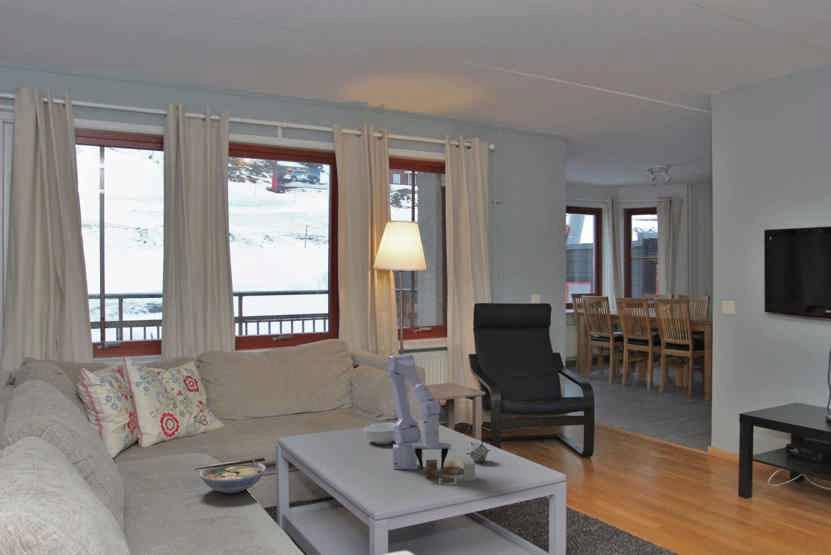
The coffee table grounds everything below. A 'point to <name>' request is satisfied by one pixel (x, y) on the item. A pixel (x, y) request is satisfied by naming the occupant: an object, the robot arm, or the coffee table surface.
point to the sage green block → (469, 470)
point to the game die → (478, 452)
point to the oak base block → (451, 467)
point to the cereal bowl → (380, 433)
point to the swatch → (447, 480)
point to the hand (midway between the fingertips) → (431, 468)
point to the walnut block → (431, 469)
